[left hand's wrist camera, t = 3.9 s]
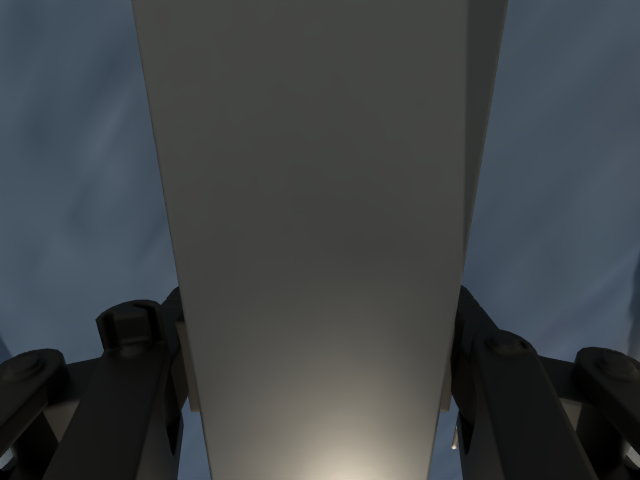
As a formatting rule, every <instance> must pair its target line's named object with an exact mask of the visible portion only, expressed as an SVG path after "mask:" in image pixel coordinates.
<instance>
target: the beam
mask: <svg viewBox="0 0 640 480" xmlns="http://www.w3.org/2000/svg"><path fill="white" fill-rule="evenodd" d="M131 1H132V7H133V13H134V19H135V25H136V31H137V37H138V43H139V49H140V55H141V61H142V67H143V73H144V79H145V85H146V91H147V97H148V103H149V109H150V115H151V121H152V127H153V133H154V139H155V145H156V151H157V157H158V163H159V169H160V175H161V181H162V187H163V193H164V199H165V205H166V211H167V217H168V223H169V229H170V235H171V241H172V247H173V253H174V259H175V265H176V271H177V277H178V283H179V289H180V295H181V301H182V307H183V313H184V319H185V325H186V331H187V337H188V343H189V349H190V355H191V361H192V367H193V373H194V379H195V385H196V391H197V397H198V403H199V409H200V415H201V421H202V427H203V433H204V439H205V445H206V451H207V457H208V463H209V469H210V475H211V480H428V479H429V473H430V467H431V461H432V455H433V449H434V443H435V437H436V431H437V425H438V419H439V413H440V407H441V401H442V395H443V389H444V383H445V377H446V371H447V365H448V359H449V353H450V347H451V341H452V335H453V329H454V323H455V317H456V311H457V305H458V299H459V293H460V287H461V281H462V275H463V269H464V263H465V257H466V251H467V245H468V239H469V233H470V227H471V221H472V215H473V209H474V203H475V197H476V191H477V185H478V179H479V173H480V167H481V161H482V155H483V149H484V143H485V137H486V131H487V125H488V119H489V112H490V106H491V100H492V94H493V88H494V82H495V76H496V70H497V64H498V58H499V52H500V46H501V40H502V34H503V28H504V22H505V16H506V10H507V4H508V0H131Z"/></svg>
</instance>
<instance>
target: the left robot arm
mask: <svg viewBox="0 0 640 480" xmlns="http://www.w3.org/2000/svg"><path fill="white" fill-rule="evenodd" d="M96 323H97V327H98V330H99V334H100V338H101V341H102V345H103V349H104V352H103V355H102V357H99V358H95V359H91V360H86V361H81V362H76V363H71V364H66V362H65V359H64V356H63V354H62V353H61V352H60V351H58V350H55V349H48V348H47V349H39V350H32V351H28V352H24V353H22V354H19V355H17V356H15V357H13V358H11V359H9V360H7V361H5V362H3V363H2V364H0V458H1V457H2V455H3V454H4V453H5V452H6V451H7V450H8V449H9V448H10V449H11V451H12V453H13V455H14V457H13V458H12V459H11V460H10V461H9V462H8V464H6V465H5V466H4V467H3V468H2V469H0V480H177V476H178V468H179V460H180V452H181V444H182V436H183V428H184V424H183V417H182V412H181V410H182V408H183V405H184V403H185V401H186V399H187V397H188V398H189V403H190V409H191V412H200V409H199V403H198V397H197V391H196V385H195V379H194V373H193V367H192V361H191V355H190V349H189V343H188V337H187V331H186V325H185V319H184V313H183V307H182V301H181V295H180V289H179V286H178V287H177V288H175V289H174V290H173V291H172V292H171V293H170V295H169V296H168V297H167V300H165V301H164V302H163V303H162V305H160V304H159V303H157V302H156V301H151V300H134V301H129V302H124V303H121V304H118V305H116V306H113V307H111V308H109V309H108V310H106V311H104V312H103V313H101V314H100V315H99V316H98V318H97V319H96ZM452 395H453V397H454V400H455V402H456V404H457V406H458V408H459V412H458V417H457V422H456V427H455V432H454V438H453V444H452V448H455V449H457V445H458V443H459V451H460V459H461V467H462V475H463V480H640V468H639V467H638V466H637V465H636V464H634V463H633V462H632V461H631V459H630V458H629V457H628V456H627V455H626V454H627V452H628V450H629V448H630V446H632V447H633V448H634V450H635V451H636V452H637V453H638V454H639V455H640V362H638V361H637V360H635V359H633V358H631V357H629V356H626V355H624V354H623V353H621V352H618V351H615V350H614V351H613V350H611V349H607V348H598V347H587V348H582V349H581V350H580V351H579V352H577V355H576V358H575V361H574V363H572V362H567V361H562V360H557V359H552V358H547V357H543V356H539V355H538V354H537V352H536V350H535V349H534V348H533V346H532V345H531V344H530V343H529V342H528V341H526V340H525V339H523V338H522V337H520V336H518V335H516V334H513V333H511V332H508V331H504V330H500V329H499V328H498V327H497V326H496V325H495V323H494V322H493V321H492V320H491V318H490V317H489V316H488V315H487V313H486V312H485V311H484V310H483V308H482V307H480V305H479V303H478V302H477V301H476V300H475V299H474V298H473V296H472V295H471V294H470V292H469V291H468V290H467V289H466V288H465V287H464V286H462V285H461V287H460V293H459V299H458V305H457V311H456V317H455V323H454V329H453V335H452V341H451V347H450V353H449V359H448V365H447V371H446V377H445V383H444V389H443V395H442V401H441V407H440V412H449V408H450V402H451V396H452Z"/></svg>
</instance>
